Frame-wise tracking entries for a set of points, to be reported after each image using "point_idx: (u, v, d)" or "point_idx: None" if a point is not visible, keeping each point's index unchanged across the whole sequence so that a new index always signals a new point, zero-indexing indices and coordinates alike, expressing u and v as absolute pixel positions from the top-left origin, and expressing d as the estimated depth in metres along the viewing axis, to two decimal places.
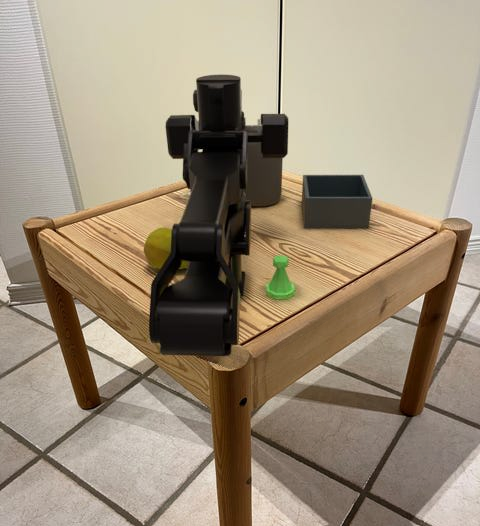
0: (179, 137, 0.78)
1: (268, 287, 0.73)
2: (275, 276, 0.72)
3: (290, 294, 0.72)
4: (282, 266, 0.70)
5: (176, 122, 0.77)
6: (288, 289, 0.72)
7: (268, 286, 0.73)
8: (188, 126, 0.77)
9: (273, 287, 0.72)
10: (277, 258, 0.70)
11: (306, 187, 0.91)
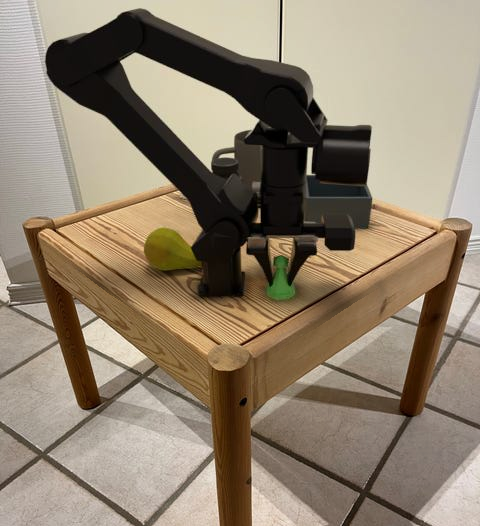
0: None
1: (268, 287, 0.73)
2: (275, 276, 0.72)
3: (290, 294, 0.72)
4: (282, 266, 0.70)
5: None
6: (288, 289, 0.72)
7: (268, 286, 0.73)
8: None
9: (273, 287, 0.72)
10: (277, 258, 0.70)
11: (306, 187, 0.91)
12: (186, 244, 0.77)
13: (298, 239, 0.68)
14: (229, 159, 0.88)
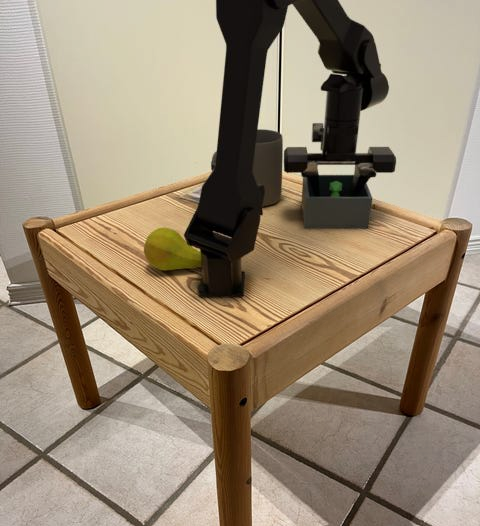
0: (296, 150, 0.88)
1: None
2: None
3: None
4: (337, 189, 0.91)
5: None
6: None
7: None
8: (304, 147, 0.90)
9: None
10: (333, 183, 0.91)
11: (306, 187, 0.91)
12: (186, 244, 0.77)
13: (361, 165, 0.88)
14: None
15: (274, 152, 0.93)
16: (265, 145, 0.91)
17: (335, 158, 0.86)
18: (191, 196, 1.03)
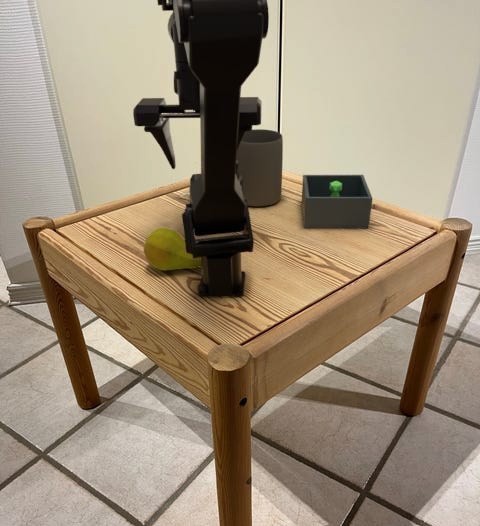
0: (150, 100, 0.77)
1: None
2: None
3: None
4: (337, 189, 0.91)
5: None
6: None
7: None
8: (162, 98, 0.78)
9: None
10: (333, 183, 0.91)
11: (306, 187, 0.91)
12: None
13: None
14: None
15: (274, 152, 0.93)
16: (265, 145, 0.91)
17: (190, 108, 0.74)
18: None
